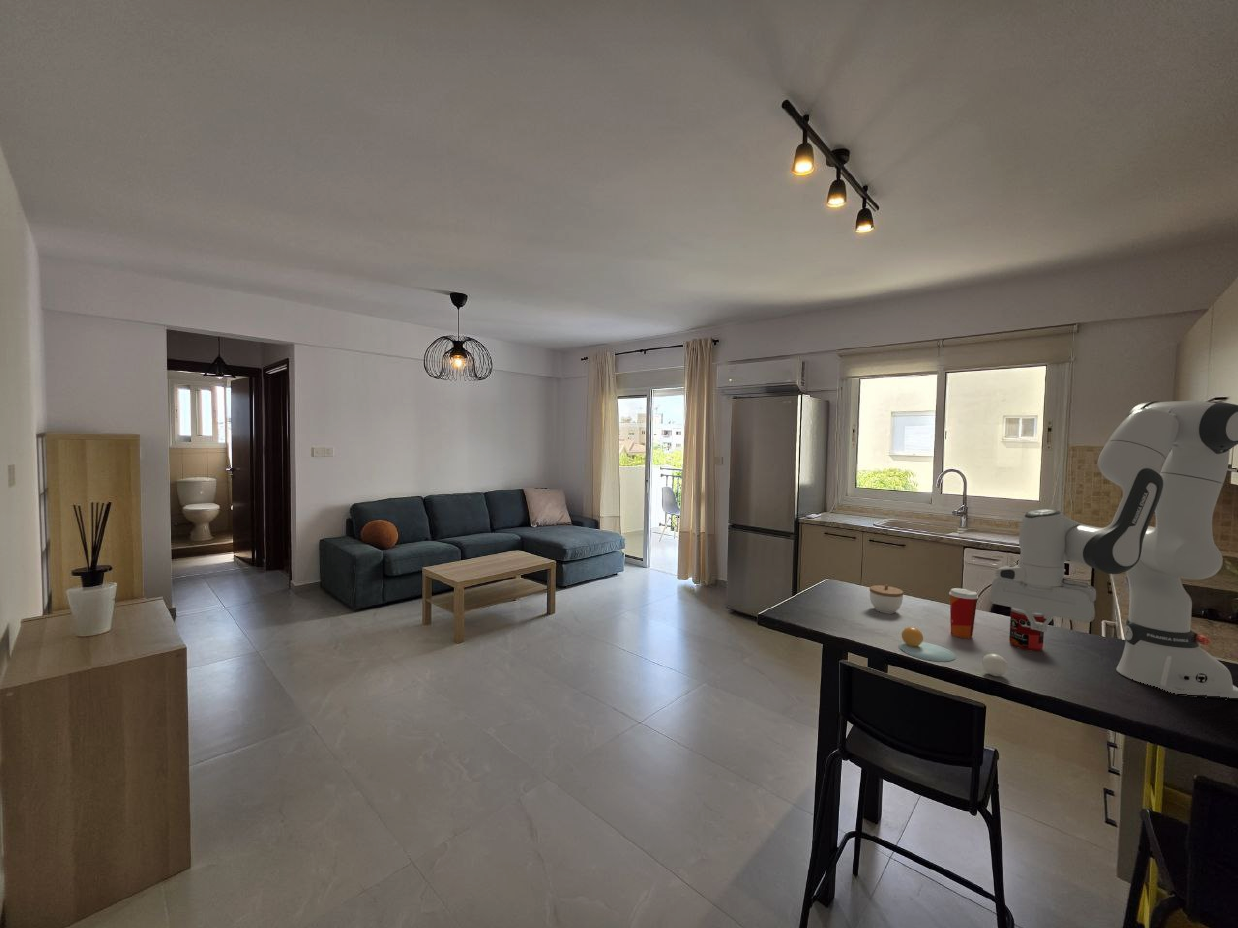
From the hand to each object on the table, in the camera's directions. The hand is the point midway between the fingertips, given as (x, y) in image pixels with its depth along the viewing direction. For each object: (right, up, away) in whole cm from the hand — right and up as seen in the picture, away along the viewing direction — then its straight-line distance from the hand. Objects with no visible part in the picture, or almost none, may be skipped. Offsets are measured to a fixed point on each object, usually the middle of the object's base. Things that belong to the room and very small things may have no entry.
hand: (1038, 630), depth 129 cm
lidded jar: (-9, -11, +56) cm, 58 cm away
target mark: (-16, -13, +20) cm, 29 cm away
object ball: (-18, -10, +24) cm, 31 cm away
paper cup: (+3, -13, +34) cm, 36 cm away
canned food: (+17, -13, +26) cm, 34 cm away
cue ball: (-7, -11, +6) cm, 14 cm away
